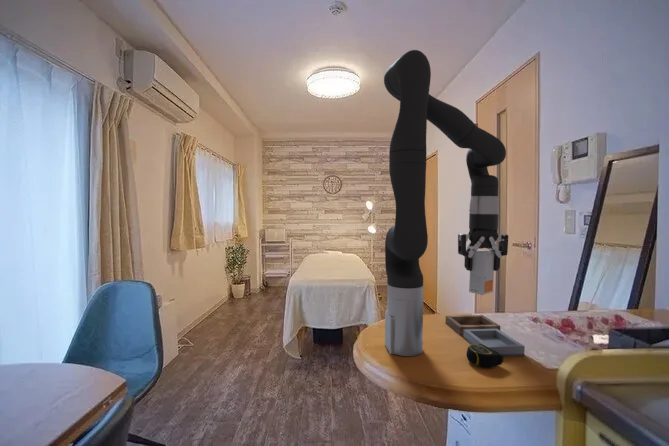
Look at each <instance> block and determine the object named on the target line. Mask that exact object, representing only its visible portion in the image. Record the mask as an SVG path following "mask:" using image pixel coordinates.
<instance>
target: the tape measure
mask: <svg viewBox="0 0 669 446" xmlns="http://www.w3.org/2000/svg"><path fill="white" fill-rule="evenodd" d="M466 359H467V361H469V363H470V364H471V365H474V366H476V367H479V368H483V369H493V368H495V367H497V366H501V365H502V364H503V363H504V357H503V356H502V355H501V354H500V353H498V352H496V351H494V350H493V349H491V348H489V347H487V346H485V345H483V344H478V345H471V344H469V345H468V347H467V350H466Z"/></svg>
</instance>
